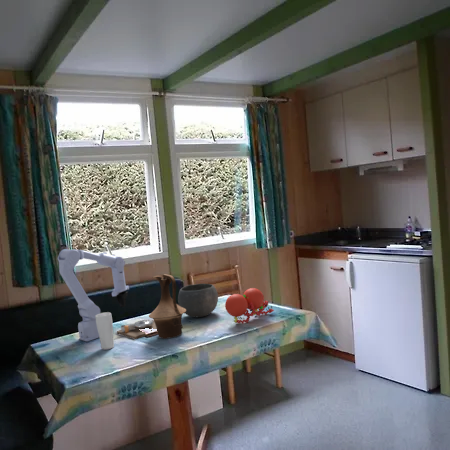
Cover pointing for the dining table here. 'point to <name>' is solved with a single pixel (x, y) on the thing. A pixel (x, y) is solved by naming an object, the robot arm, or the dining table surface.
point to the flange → (138, 325)
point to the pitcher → (167, 310)
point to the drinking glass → (105, 330)
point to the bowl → (198, 299)
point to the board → (136, 332)
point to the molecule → (246, 305)
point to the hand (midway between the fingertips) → (122, 306)
